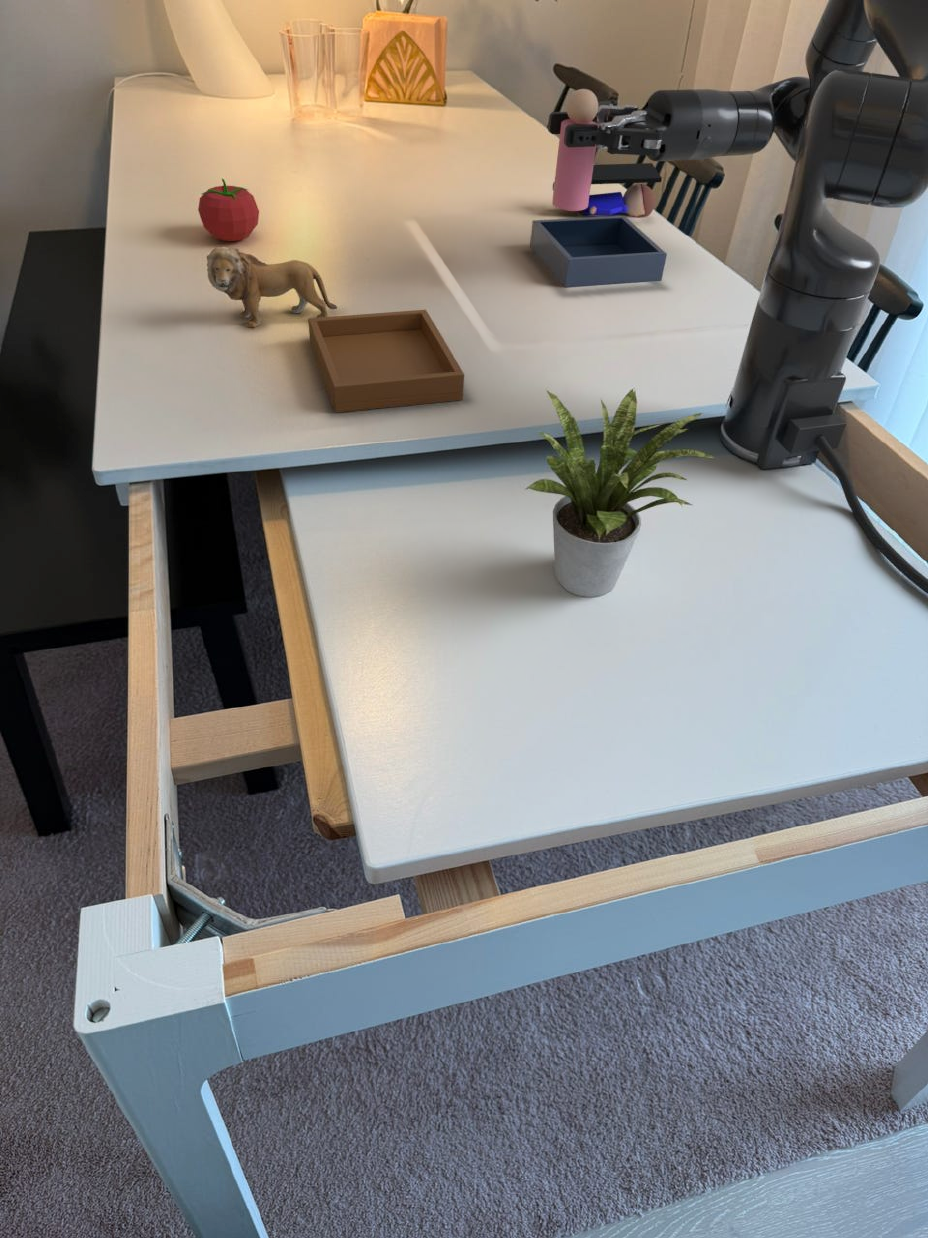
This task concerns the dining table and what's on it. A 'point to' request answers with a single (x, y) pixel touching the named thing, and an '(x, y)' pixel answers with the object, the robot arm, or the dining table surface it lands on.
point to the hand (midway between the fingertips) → (558, 129)
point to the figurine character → (635, 198)
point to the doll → (575, 156)
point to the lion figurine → (263, 281)
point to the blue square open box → (597, 251)
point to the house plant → (603, 496)
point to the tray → (384, 360)
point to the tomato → (228, 212)
